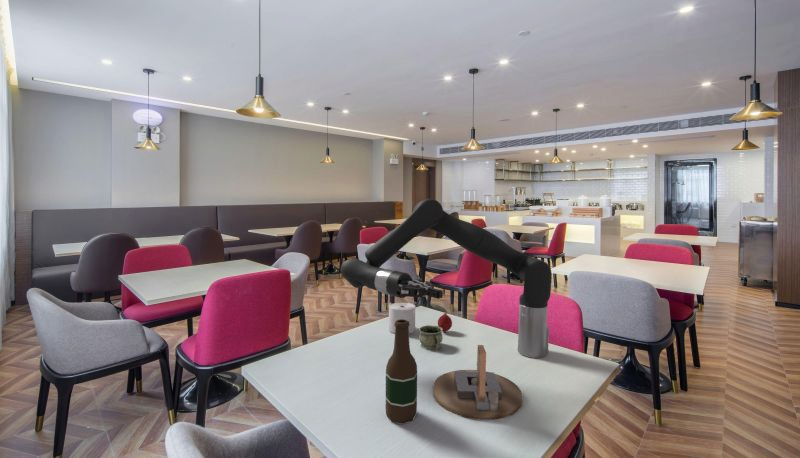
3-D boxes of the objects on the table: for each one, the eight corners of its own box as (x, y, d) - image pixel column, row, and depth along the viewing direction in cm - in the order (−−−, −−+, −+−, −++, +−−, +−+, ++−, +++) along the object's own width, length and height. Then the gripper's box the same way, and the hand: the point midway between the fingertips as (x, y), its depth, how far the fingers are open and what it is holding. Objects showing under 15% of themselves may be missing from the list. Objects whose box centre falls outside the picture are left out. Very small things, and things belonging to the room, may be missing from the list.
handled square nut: (454, 377, 111) (455, 330, 110) (493, 379, 110) (495, 331, 109) (459, 409, 95) (460, 354, 93) (506, 411, 94) (508, 356, 93)
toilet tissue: (410, 336, 149) (411, 311, 148) (382, 332, 153) (382, 308, 152) (418, 327, 159) (418, 303, 158) (391, 324, 163) (391, 301, 162)
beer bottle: (384, 407, 98) (385, 316, 97) (414, 406, 99) (415, 315, 97) (386, 425, 91) (386, 326, 89) (418, 424, 91) (420, 326, 89)
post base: (490, 369, 121) (490, 352, 120) (541, 409, 98) (542, 389, 97) (419, 381, 113) (419, 363, 112) (457, 427, 90) (458, 405, 90)
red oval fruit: (451, 335, 150) (451, 315, 150) (436, 334, 152) (437, 314, 151) (452, 330, 156) (452, 311, 155) (438, 329, 157) (438, 310, 157)
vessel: (449, 349, 136) (449, 332, 136) (427, 353, 133) (427, 336, 132) (433, 338, 147) (433, 322, 147) (412, 341, 144) (412, 325, 143)
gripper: (406, 291, 121) (453, 303, 110) (377, 298, 111) (426, 313, 100) (407, 268, 120) (454, 278, 109) (379, 273, 110) (428, 284, 99)
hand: (441, 294), depth 105 cm, fingers closed
